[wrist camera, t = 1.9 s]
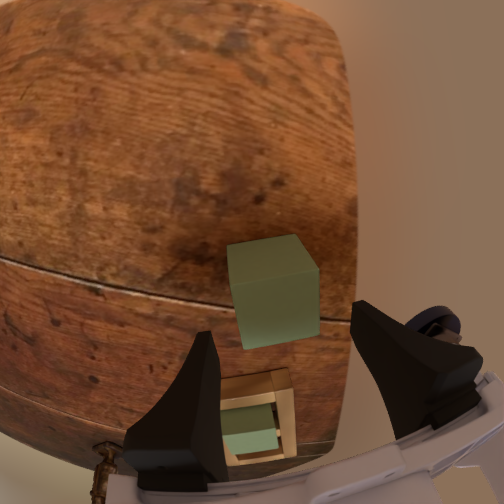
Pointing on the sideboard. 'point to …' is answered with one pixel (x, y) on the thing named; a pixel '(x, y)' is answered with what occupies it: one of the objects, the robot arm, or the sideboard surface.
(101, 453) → the figurine
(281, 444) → the backing frame
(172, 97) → the sideboard surface
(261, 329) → the olive green cubic block
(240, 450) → the green cubic block
